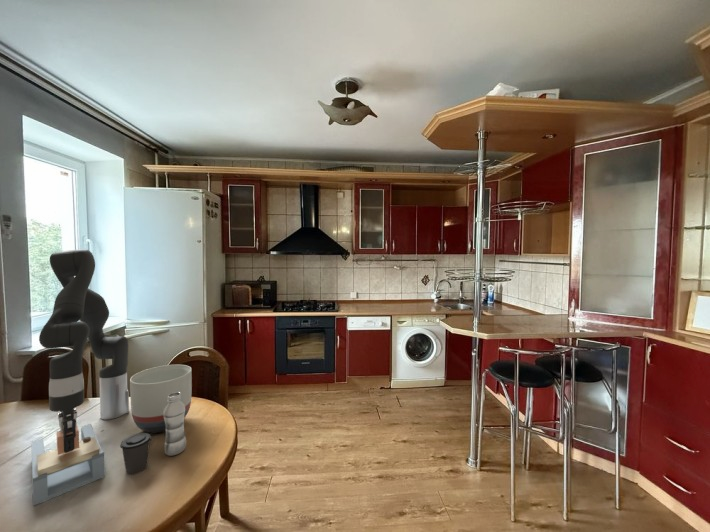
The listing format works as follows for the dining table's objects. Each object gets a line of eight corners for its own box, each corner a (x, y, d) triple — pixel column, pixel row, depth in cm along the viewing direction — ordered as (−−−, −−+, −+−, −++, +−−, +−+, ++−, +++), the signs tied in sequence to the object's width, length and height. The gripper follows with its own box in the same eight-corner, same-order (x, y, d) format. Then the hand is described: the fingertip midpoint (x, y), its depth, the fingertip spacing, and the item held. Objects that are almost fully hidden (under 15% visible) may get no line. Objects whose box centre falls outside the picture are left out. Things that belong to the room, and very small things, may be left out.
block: (77, 441, 94) (77, 425, 94) (79, 447, 91) (78, 431, 91) (57, 448, 90) (56, 431, 90) (58, 454, 87) (57, 437, 87)
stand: (91, 441, 112) (91, 420, 112) (104, 476, 93) (104, 452, 93) (31, 461, 101) (31, 438, 101) (33, 505, 82) (32, 478, 82)
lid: (94, 442, 99) (94, 434, 99) (99, 455, 93) (99, 446, 93) (37, 462, 90) (36, 453, 90) (37, 478, 83) (37, 467, 83)
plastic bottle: (190, 448, 107) (189, 391, 107) (173, 460, 101) (172, 400, 100) (176, 444, 109) (175, 389, 109) (159, 456, 103) (158, 397, 102)
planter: (143, 449, 106) (141, 388, 106) (123, 430, 119) (121, 375, 118) (201, 424, 123) (201, 371, 122) (179, 409, 135) (178, 361, 134)
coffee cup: (118, 481, 91) (117, 448, 91) (123, 465, 99) (122, 434, 98) (150, 472, 95) (149, 440, 95) (153, 457, 102) (152, 427, 102)
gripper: (87, 393, 88) (88, 451, 89) (80, 380, 98) (82, 433, 98) (50, 402, 83) (52, 464, 83) (47, 387, 92) (49, 443, 93)
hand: (68, 447), depth 91 cm, fingers closed on block, 4 cm apart
